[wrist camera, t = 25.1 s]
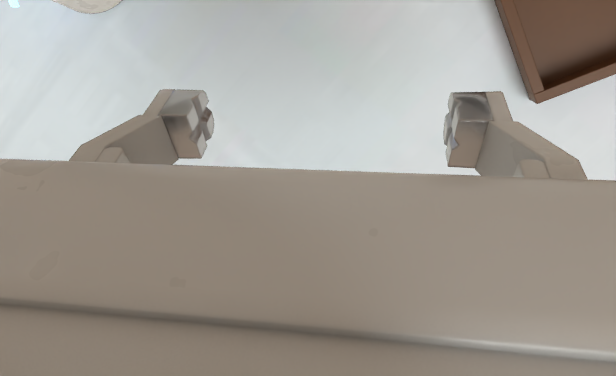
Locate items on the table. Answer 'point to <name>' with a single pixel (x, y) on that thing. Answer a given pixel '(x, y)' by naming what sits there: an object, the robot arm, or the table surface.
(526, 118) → the table surface
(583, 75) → the tray
